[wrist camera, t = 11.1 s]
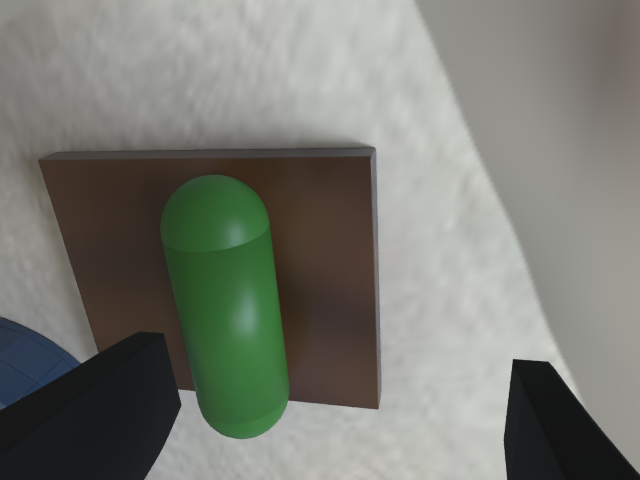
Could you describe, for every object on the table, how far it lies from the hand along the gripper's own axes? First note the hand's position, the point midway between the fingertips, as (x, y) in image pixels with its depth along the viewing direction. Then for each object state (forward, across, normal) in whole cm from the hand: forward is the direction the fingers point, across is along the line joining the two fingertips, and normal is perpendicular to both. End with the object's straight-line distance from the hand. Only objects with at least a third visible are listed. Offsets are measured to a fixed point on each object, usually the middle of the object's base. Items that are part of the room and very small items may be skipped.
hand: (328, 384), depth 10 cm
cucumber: (+8, +6, +3) cm, 10 cm away
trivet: (+9, +6, +3) cm, 12 cm away
